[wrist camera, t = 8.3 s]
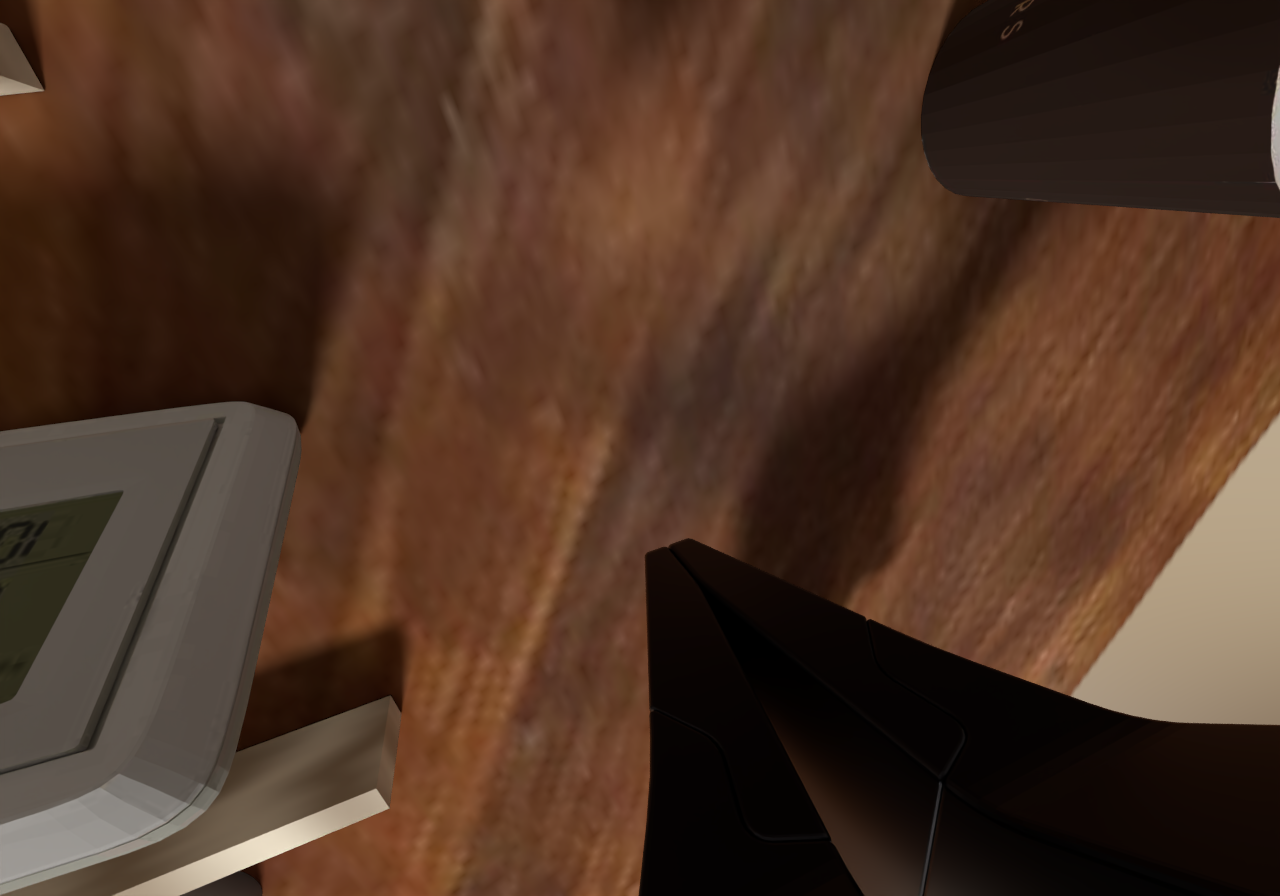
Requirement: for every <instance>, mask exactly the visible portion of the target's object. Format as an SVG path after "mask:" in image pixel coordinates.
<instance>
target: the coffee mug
mask: <svg viewBox="0 0 1280 896" xmlns="http://www.w3.org/2000/svg"><path fill="white" fill-rule="evenodd" d="M921 128H922V141H923V147H924V153H925V156H926V159H927V162H928V165H929V167H930V169H931V171H932V172H933V174H934V176H935V177H936V179H937V180H938V181H939V182H940V183H941V184H942V185H943V186H944V187H945V188H946V189H948V190H950V191H952V192H953V193H955V194H959V195H964V196H973V197H988V198H1002V199H1017V200H1031V201H1045V202H1060V203H1074V204H1088V205H1103V206H1117V207H1131V208H1146V209H1160V210H1175V211H1189V212H1203V213H1218V214H1232V215H1246V216H1261V217H1275V218H1280V0H988V1H987V2H985V3H983V4H982V5H980V6H978V7H977V8H975V9H973V10H972V11H971V12H970V13H969V14H968V15H967V16H966V17H964V18H963V19H962V20H961V21H960V22H959V23H958V25H957V26H956V27H955V28H954V30H953V31H952V32H951V34H950V35H949V36H948V37H947V39H946V41H945V43H944V45H943V46H942V48H941V50H940V52H939V53H938V55H937V57H936V60H935V62H934V65H933V67H932V70H931V72H930V75H929V79H928V82H927V86H926V90H925V94H924V100H923V107H922V115H921Z"/></svg>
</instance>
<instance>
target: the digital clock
mask: <svg viewBox="0 0 1280 896" xmlns="http://www.w3.org/2000/svg"><path fill="white" fill-rule="evenodd" d="M300 458H301V435H300V432H299V429H298V426H297V423H296V422H295V419H294V418H293V417H292V416H290V415H289V414H287V413H283V412H280V411H277V410H273V409H270V408H266V407H263V406H259V405H255V404H252V403H248V402H222V403H212V404H204V405H196V406H187V407H179V408H171V409H164V410H156V411H148V412H141V413H133V414H125V415H118V416H111V417H103V418H96V419H88V420H81V421H74V422H66V423H59V424H51V425H44V426H36V427H29V428H22V429H14V430H7V431H0V895H2V894H5V893H8V892H11V891H14V890H17V889H20V888H23V887H26V886H30V885H33V884H36V883H39V882H42V881H45V880H48V879H51V878H54V877H57V876H60V875H63V874H66V873H69V872H73V871H76V870H79V869H82V868H85V867H88V866H91V865H94V864H97V863H100V862H103V861H106V860H109V859H112V858H116V857H119V856H122V855H125V854H128V853H130V852H133V851H136V850H138V849H141V848H143V847H146V846H148V845H151V844H154V843H156V842H159V841H161V840H163V839H165V838H166V837H168V836H170V835H172V834H174V833H176V832H177V831H179V830H181V829H183V828H185V827H186V826H188V825H189V824H190V823H191V822H193V821H194V820H195V819H196V818H198V817H199V816H200V815H201V814H203V813H204V812H205V811H206V810H207V809H208V808H209V806H210V805H211V804H212V802H213V801H214V800H215V798H216V797H217V796H218V794H219V793H220V791H221V789H222V787H223V785H224V782H225V780H226V778H227V776H228V774H229V771H230V768H231V765H232V762H233V758H234V755H235V752H236V749H237V745H238V741H239V737H240V733H241V729H242V725H243V721H244V717H245V713H246V709H247V705H248V700H249V696H250V691H251V686H252V682H253V677H254V673H255V668H256V663H257V659H258V654H259V649H260V645H261V640H262V635H263V631H264V626H265V621H266V617H267V612H268V608H269V603H270V598H271V594H272V589H273V584H274V580H275V575H276V570H277V566H278V561H279V557H280V552H281V547H282V543H283V538H284V533H285V529H286V524H287V519H288V515H289V510H290V506H291V501H292V496H293V492H294V487H295V482H296V478H297V473H298V468H299V464H300Z"/></svg>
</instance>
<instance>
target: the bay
mask: <svg viewBox="0 0 1280 896" xmlns="http://www.w3.org/2000/svg"><path fill="white" fill-rule="evenodd" d="M38 91H45V90H44V89H43V87H42V85H41V83H40V82H39V80H38V78H37V77H36V75H35V73H34V71H33V70H32V68H31V66H30V64H29V63H28V61H27V59H26V57H25V56H24V54H23V52H22V50H21V49H20V47H19V45H18V43H17V42H16V40H15V38H14V36H13V35H12V33H11V31H10V29H9V28H8V26H6V25H4V24H2V23H0V96H1V95H10V94H19V93H29V92H38ZM400 722H401V712H400V711H399V709H398V707H397V705H396V704H395V702H394V700H393V698H392V697H391V695H390V696H387V697H385V698H382V699H379V700H377V701H374V702H371V703H368V704H366V705H363V706H360V707H358V708H355V709H352V710H350V711H347V712H344V713H341V714H339V715H336V716H333V717H331V718H328V719H325V720H322V721H320V722H317V723H314V724H312V725H309V726H306V727H304V728H301V729H298V730H295V731H293V732H290V733H287V734H285V735H282V736H279V737H276V738H274V739H271V740H268V741H266V742H263V743H260V744H258V745H255V746H252V747H249V748H247V749H244V750H241V751H239V752H236V753H235V755H234V758H233V762H232V765H231V768H230V771H229V774H228V776H227V778H226V780H225V782H224V785H223V787H222V789H221V791H220V793H219V794H218V796H217V797H216V798H215V800H214V801H213V802H212V804H211V805H210V806H209V808H208V809H207V810H206V811H205V812H204V813H203V814H201V815H200V816H199V817H198V818H196V819H195V820H194V821H193V822H191V823H190V824H189V825H188V826H186V827H185V828H183V829H181V830H179V831H177V832H176V833H174V834H172V835H170V836H168V837H166V838H165V839H163V840H161V841H159V842H156V843H154V844H151V845H148V846H146V847H143V848H141V849H138V850H136V851H133V852H130V853H128V854H125V855H122V856H119V857H116V858H112V859H109V860H106V861H103V862H100V863H97V864H94V865H91V866H88V867H85V868H82V869H79V870H76V871H73V872H69V873H66V874H63V875H60V876H57V877H54V878H51V879H48V880H45V881H42V882H39V883H36V884H33V885H30V886H26V887H23V888H20V889H17V890H14V891H11V892H8V893H5V894H2V895H0V896H180V895H182V894H185V893H187V892H189V891H192V890H194V889H197V888H199V887H201V886H204V885H206V884H209V883H211V882H213V881H216V880H218V879H221V878H223V877H225V876H228V875H230V874H233V873H235V872H237V871H240V870H242V869H245V868H247V867H250V866H252V865H254V864H257V863H259V862H262V861H264V860H266V859H269V858H271V857H274V856H276V855H278V854H281V853H283V852H286V851H288V850H290V849H293V848H295V847H298V846H300V845H302V844H305V843H307V842H310V841H312V840H314V839H317V838H319V837H322V836H324V835H327V834H329V833H331V832H334V831H336V830H339V829H341V828H343V827H346V826H348V825H351V824H353V823H355V822H358V821H360V820H363V819H365V818H367V817H370V816H372V815H375V814H377V813H379V812H382V811H384V810H387V809H389V808H390V801H391V793H392V785H393V777H394V769H395V761H396V753H397V745H398V738H399V730H400Z"/></svg>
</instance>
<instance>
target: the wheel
mask: <svg viewBox="0 0 1280 896" xmlns="http://www.w3.org/2000/svg"><path fill="white" fill-rule="evenodd" d="M180 896H262V889H261V886H260V884H259V883H258V882H257V880H255V879H254V878H253V877H252V876H250V875H248V874H246V873H244V872H241V871H237V872H235V873H233V874H230V875H228V876H225V877H223V878H221V879H218V880H216V881H213V882H211V883H209V884H206V885H204V886H201V887H199V888H197V889H194V890H192V891H189V892H187V893H185V894H182V895H180Z"/></svg>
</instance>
